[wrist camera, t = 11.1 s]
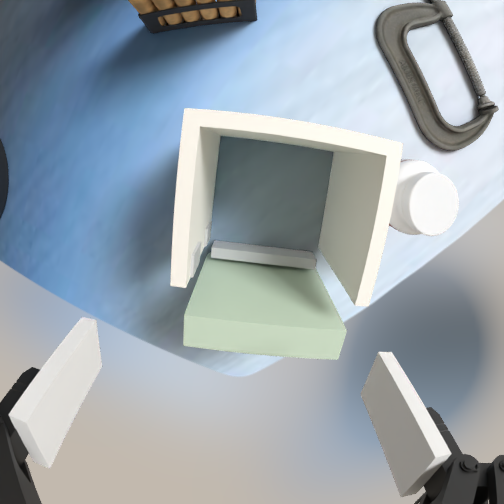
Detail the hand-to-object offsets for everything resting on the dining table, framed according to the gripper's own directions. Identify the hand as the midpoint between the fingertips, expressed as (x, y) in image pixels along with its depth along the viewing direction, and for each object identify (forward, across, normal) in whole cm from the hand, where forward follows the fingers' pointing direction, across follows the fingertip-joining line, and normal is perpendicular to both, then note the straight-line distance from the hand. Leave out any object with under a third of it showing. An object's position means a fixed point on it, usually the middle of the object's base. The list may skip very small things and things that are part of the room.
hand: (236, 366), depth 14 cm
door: (+20, +2, -3) cm, 20 cm away
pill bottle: (+20, +13, +8) cm, 25 cm away
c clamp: (+20, +20, +24) cm, 38 cm away
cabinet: (+20, +2, +3) cm, 20 cm away
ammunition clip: (+20, -7, +22) cm, 31 cm away
